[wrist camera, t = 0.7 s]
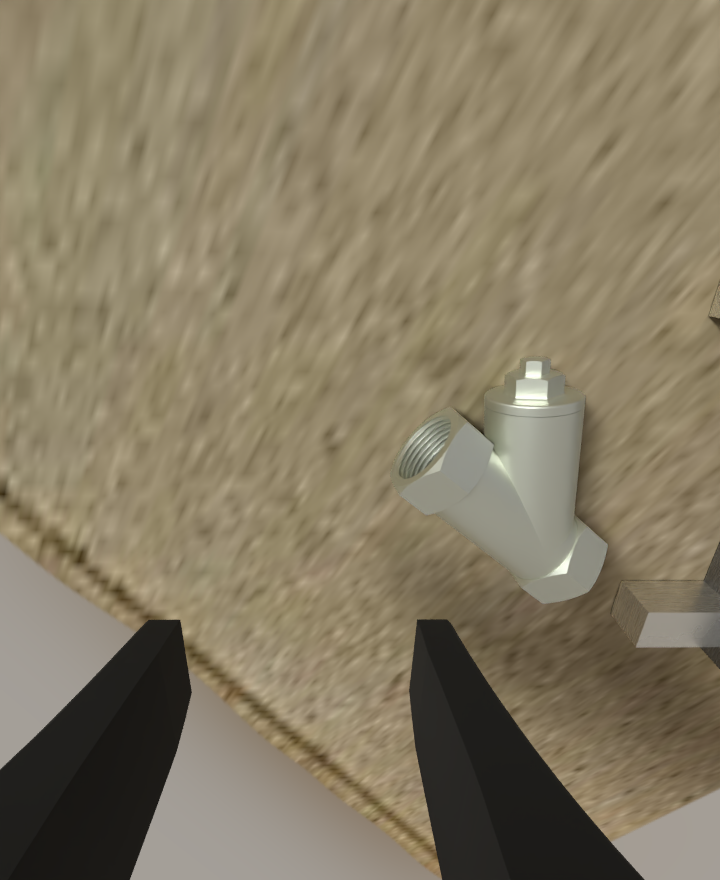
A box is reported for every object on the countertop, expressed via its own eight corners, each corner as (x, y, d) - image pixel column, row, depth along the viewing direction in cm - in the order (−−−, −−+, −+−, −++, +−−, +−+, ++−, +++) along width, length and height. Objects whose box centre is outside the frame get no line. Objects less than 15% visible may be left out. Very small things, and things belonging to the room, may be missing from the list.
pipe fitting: (502, 329, 17) (384, 460, 18) (554, 343, 13) (400, 506, 14) (628, 453, 19) (514, 562, 20) (702, 495, 15) (557, 623, 17)
